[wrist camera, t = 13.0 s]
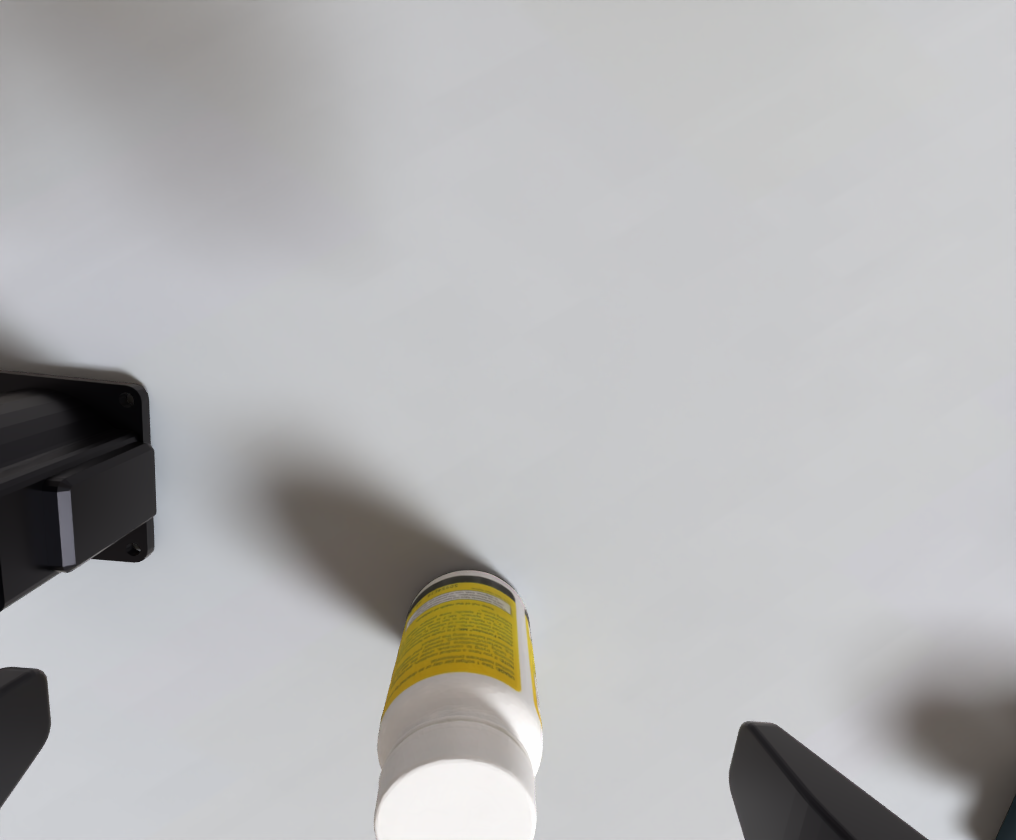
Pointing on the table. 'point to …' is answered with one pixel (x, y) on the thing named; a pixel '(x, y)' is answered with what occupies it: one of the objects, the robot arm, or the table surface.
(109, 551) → the robot arm
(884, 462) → the table surface
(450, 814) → the supplement bottle
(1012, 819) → the watch
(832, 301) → the table surface
